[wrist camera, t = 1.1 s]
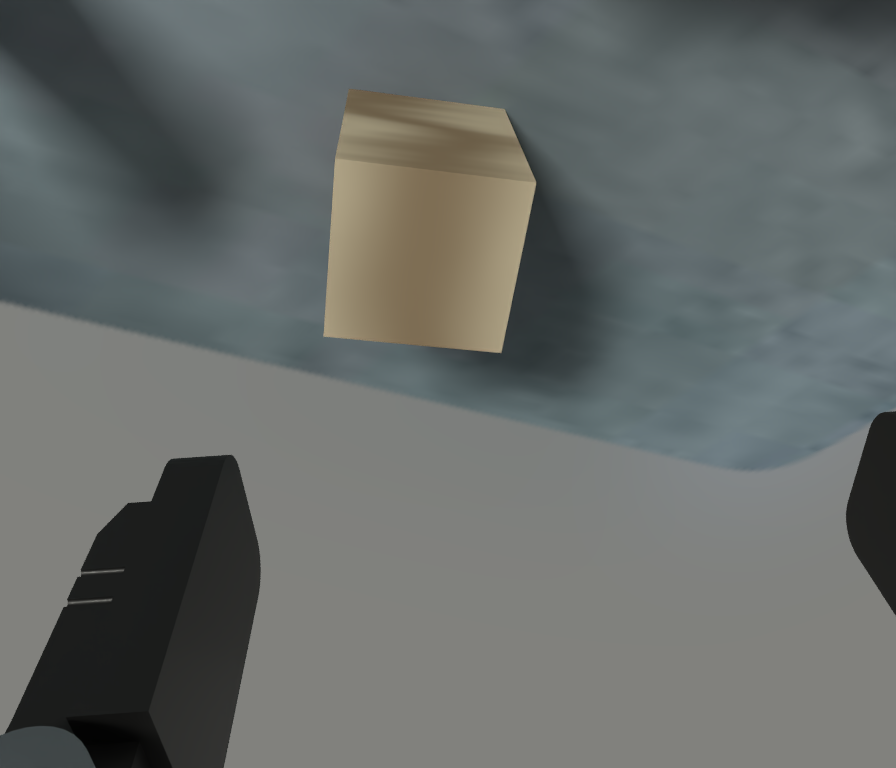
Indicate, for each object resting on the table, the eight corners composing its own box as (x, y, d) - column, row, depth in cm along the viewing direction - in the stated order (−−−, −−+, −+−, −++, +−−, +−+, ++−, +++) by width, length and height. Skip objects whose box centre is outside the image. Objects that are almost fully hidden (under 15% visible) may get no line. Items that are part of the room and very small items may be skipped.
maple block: (338, 235, 28) (323, 336, 22) (349, 88, 25) (335, 158, 19) (479, 251, 28) (501, 352, 23) (504, 109, 26) (536, 182, 20)
